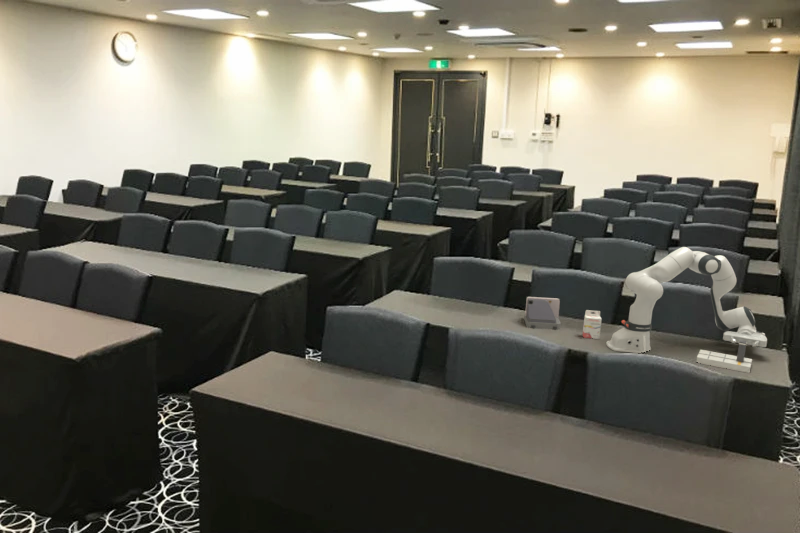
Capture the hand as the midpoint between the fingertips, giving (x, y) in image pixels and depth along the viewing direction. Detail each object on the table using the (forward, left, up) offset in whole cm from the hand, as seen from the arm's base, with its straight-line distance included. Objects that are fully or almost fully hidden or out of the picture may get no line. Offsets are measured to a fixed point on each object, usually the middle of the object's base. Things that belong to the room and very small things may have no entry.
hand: (743, 343), depth 348 cm
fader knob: (-6, -9, -8) cm, 13 cm away
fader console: (-12, -6, -9) cm, 16 cm away
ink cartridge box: (-69, +29, -9) cm, 75 cm away
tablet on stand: (-91, +50, -10) cm, 105 cm away
